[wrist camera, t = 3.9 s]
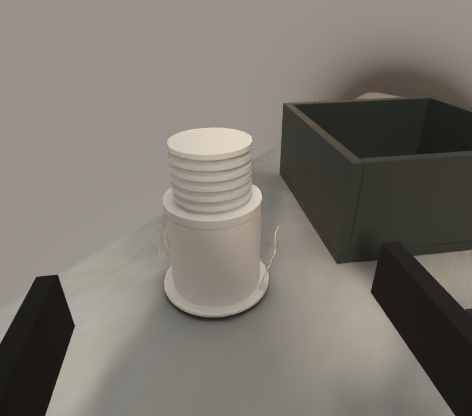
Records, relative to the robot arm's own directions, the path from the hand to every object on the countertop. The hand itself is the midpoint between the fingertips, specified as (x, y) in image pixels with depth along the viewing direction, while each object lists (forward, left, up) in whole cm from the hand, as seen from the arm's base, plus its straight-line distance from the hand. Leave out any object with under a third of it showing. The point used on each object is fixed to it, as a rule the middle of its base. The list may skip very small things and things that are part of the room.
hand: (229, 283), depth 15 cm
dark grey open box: (+9, +22, -6) cm, 24 cm away
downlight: (-3, +7, -6) cm, 10 cm away
